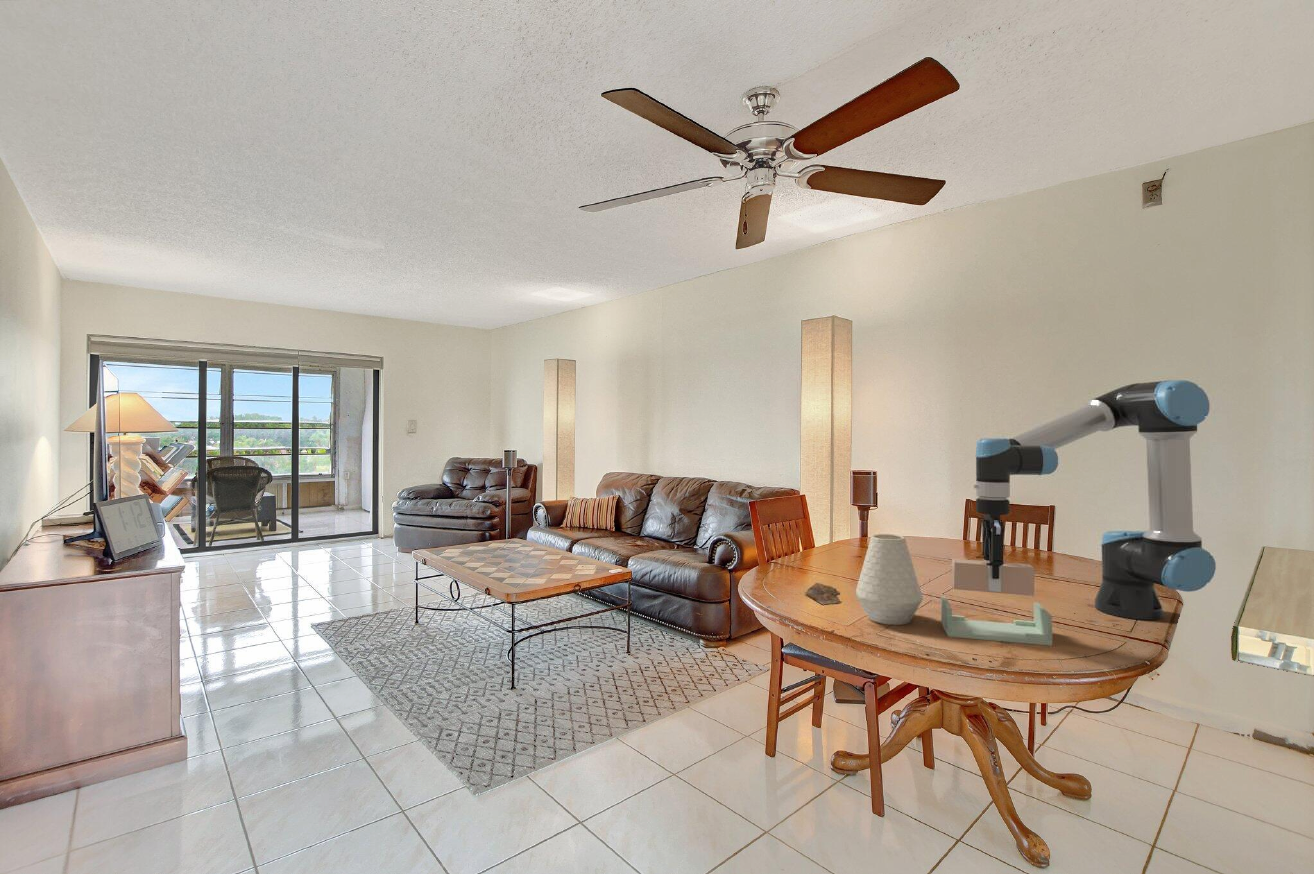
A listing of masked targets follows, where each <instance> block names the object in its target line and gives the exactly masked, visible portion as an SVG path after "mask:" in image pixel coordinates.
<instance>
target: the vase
mask: <svg viewBox="0 0 1314 874" xmlns="http://www.w3.org/2000/svg"><path fill="white" fill-rule="evenodd" d="M917 577H918V576H917V573H916V570H915V567H914V563H913V560H912V556H911V554H910V550H909V546H908V544H907V541H906V537H905V536H902V535H899V534H891V533H878V534H877V533H876V534H872V535H871V536H870V540H869V544H868V546H867V550H866V553H865V557H864V560H863V565H862V567H861V571H860V575H859V579H858V582H857V586H856V588H855V596H856V598H857V600H858V601H859V603H860V605H861V607H862V609H863V611H864V612H865V614H866V617H867V618H868V620H870V621H872V622H873V623H874V622H875V623H877V624H881V625H886V626H887V625H889V626H903V625H907V624H908V623H910V622H911V621H912V619H913V618H914V615H915V614H916V612H917V611H918V608H919V607H920V606H921V603H922V602H923V599H924V598H923V593H922V590H921V587H920V584H919V580H918V578H917Z"/></svg>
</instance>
